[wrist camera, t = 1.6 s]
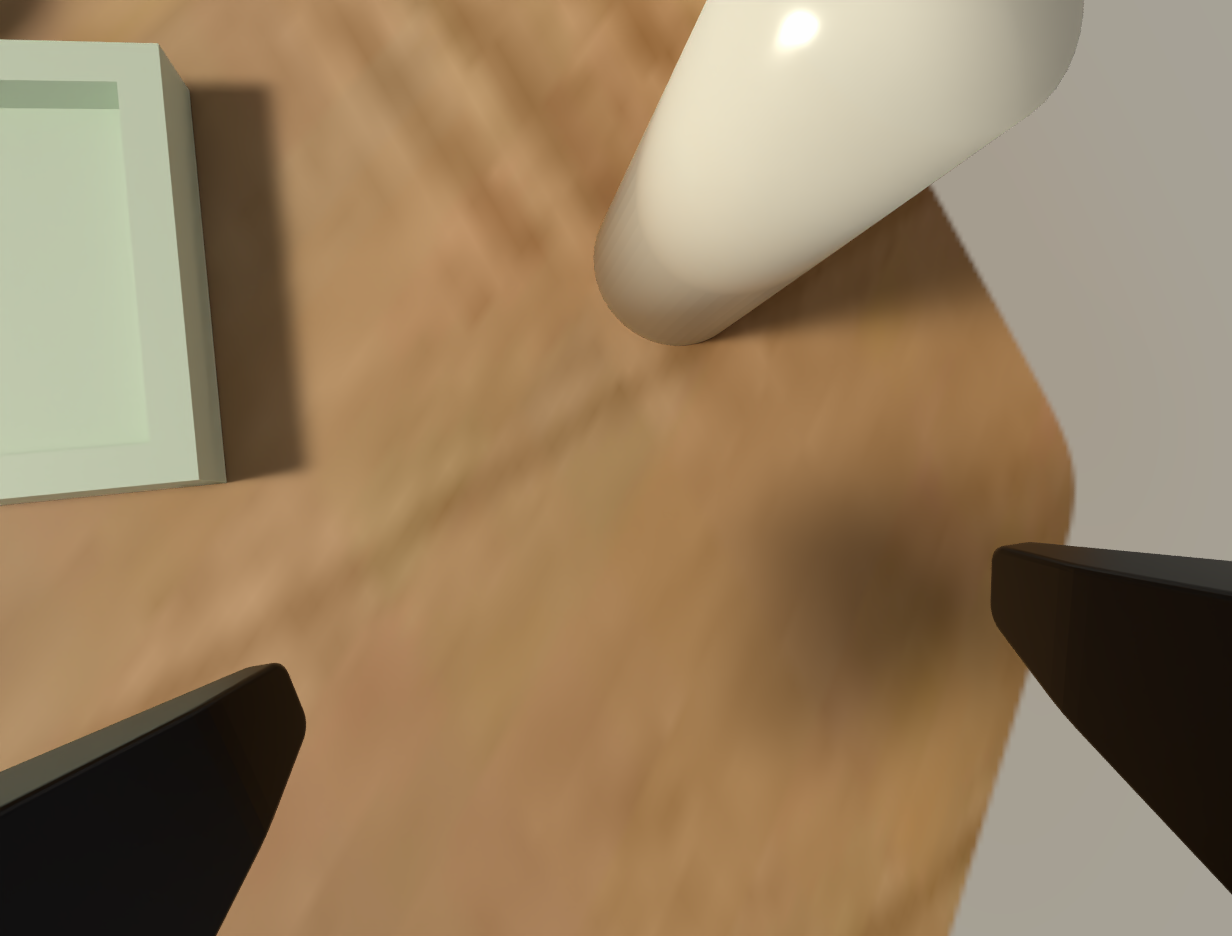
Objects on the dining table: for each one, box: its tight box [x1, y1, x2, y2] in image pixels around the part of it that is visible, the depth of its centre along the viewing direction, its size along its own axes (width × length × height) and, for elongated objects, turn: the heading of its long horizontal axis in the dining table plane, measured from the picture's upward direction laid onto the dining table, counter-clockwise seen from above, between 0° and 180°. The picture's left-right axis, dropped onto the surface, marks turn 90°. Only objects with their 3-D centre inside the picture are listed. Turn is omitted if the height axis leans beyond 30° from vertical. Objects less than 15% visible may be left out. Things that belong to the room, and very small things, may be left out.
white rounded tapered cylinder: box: [594, 0, 1084, 346], centre depth 16 cm, size 5×5×12 cm
